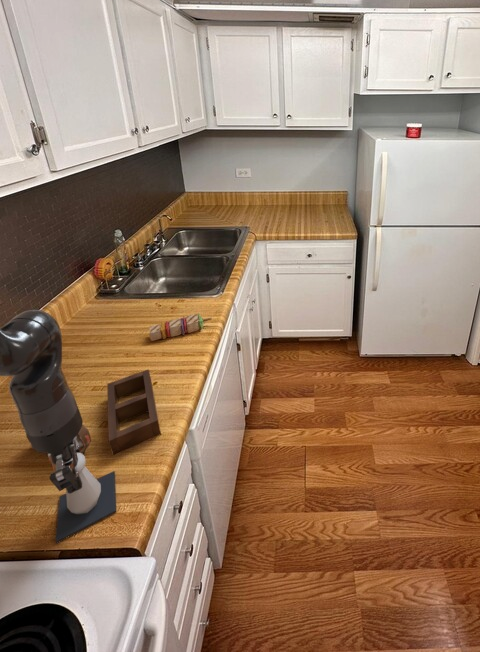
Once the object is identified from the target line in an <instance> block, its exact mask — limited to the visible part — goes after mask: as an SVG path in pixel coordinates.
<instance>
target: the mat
mask: <svg viewBox="0 0 480 652" xmlns="http://www.w3.org/2000/svg"><path fill="white" fill-rule="evenodd" d="M96 479H97V481H98V482H99V483H100V484H101V493H100V495H99V498H98V501H97V504H96V505H95V506H94V507H93V508H92V509H91V510H90V511H89V512H88V513H83V514H75V513H72V512H71V511H70V510H69V509H68V508H67V497H66V493H64V494H62V495H60V496H59V501H58V510H57V520H56V530H55V538H54V539H55V540H54V542H55V544H58V543H60V542H62V541H63V539H64V538H66V537H68V536H70V537H72V536H73V535H72V534H74V535H75V534H78V533H79V532H81V531H83V530H85V529H87V528H88V527H91V526H93V525H95V524H96V523H98V522H101V521H102V520H104V519H106V518H108V517H110V516H112V515H114V514H116V513H117V493H116V491H117V490H116V471H115V470H113V471H111V472H109V473H107V474H104V475H103V476H100V477H98V478H96ZM71 535H72V536H71ZM68 538H69V537H68ZM66 539H67V538H66ZM61 540H62V541H61ZM64 540H65V539H64ZM59 541H60V542H59ZM57 542H58V543H57Z"/></svg>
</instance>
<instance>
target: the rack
mask: <svg viewBox="0 0 480 652" xmlns="http://www.w3.org/2000/svg"><path fill="white" fill-rule="evenodd" d="M106 387H107V391H106V392H107V431H108V443H109V447H110V450H111V453H112V456H116V455H119V454H120V453H123V452H124V451H126V450H129V449H131V448H133V447H136V446H138V445H141V444H142V443H143V444H144V442H147V441H149V440H152V439H154V438H156V437H158V436H161V435H162V432H161V426H160V421H159V414H158V410H157V404H156V399H155V393H154V387H153V381H152V378H151V374H150V370H149V369H145V370H143V371H140V372H137V373H134V374H132V375H128V376H125V377H123V378H120V379H117V380H114V381H111V382H109V383H107V386H106ZM142 390H144V391H145V393H142V394H139V395H137V396H135V397H131V398H129V399H127V400H124V401H122V402H119V399H121V398H123V397H126V396H129V395H131V394H134V393H137V392H140V391H142ZM145 413H148V416H149V418H147V419H145V420H142V421H139V422H137V423H135V424H132V425H130V426H127V427H125V428H123V429H121V427H120V424H121V423H123V422H126V421H128V420H131V419H133V418H136V417H138V416H141V415H143V414H145Z"/></svg>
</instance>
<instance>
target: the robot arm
mask: <svg viewBox="0 0 480 652" xmlns="http://www.w3.org/2000/svg"><path fill="white" fill-rule="evenodd" d="M1 302H2V299H1V298H0V304H1ZM62 366H63V337H62V331H61V328H60V324H59V323H58V322H57V320H56V318H54V317H53V316H52V315H51V314H50V313H48V312H46V311H43V310H41V309H28V310H25V311H22V312H20V313H18V314H17V315H16V316H14V317H13V318H12V319H11V320H9V321H8V322H7V323H6V324H4V325H3V326H2V327H0V377H11V376H12V377H11V379H10V381H9V384H8V390H9V393H10V396H11V398H12V400H13V402H14V404H15V407H16V409H17V410H18V416H19V421H20V423H21V426H22V428H23V429H24V432H25V435H26V434H27V436H28V439H29V440H28V439H27V440H28V442H29V441H30V442H29V444H30V445H31V448H32V449H33V450H34V451H35V452H37V453H44V454H47V457H48V461H49V462H51V465H52V470H53V472H52V473H50V474H49V475H50V476H49V480H50V481H51V482H50V483H52V484H53V486H54V487H55V488H56V489H57V490H58V491H59V492H62V491H63V490H66V489H67V491H68V493H69V494H71V493H73V492H75V491H77V490H79V489H81V488H82V481H81V479H80V476H79V472H78V470H77V467H76V466H77V463H78V457H77V453H80V451H79V450H80V445H79V438H80V436H79V434H78V433H79V431H80V429H81V427H82V425H83V423H84V422H83V417H82V415H81V411H80V409H79V406H78V404H77V401H76V398H75V395H74V393H73V390H71V388H70V386H69V383H68V380H67V378H66V376H65V373H64V371H63V367H62ZM27 436H26V437H27ZM71 459H73V460H72V461H70V460H71ZM68 461H69V462H68ZM66 462H67V463H66ZM64 463H65V464H64ZM71 469H72V471H73V472H72V471H71Z"/></svg>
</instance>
